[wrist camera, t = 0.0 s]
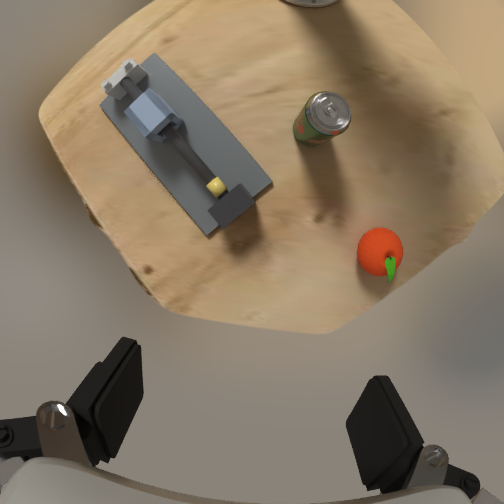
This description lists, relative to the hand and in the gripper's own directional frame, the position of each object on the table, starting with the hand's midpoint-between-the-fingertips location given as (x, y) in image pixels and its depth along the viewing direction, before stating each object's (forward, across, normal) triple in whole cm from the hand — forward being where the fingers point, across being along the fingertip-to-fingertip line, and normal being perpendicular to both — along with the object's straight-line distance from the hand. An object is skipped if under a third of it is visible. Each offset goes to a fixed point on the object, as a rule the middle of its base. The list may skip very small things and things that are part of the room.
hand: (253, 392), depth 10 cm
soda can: (+31, -5, -16) cm, 36 cm away
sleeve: (+30, +16, -14) cm, 37 cm away
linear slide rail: (+31, +14, -12) cm, 36 cm away
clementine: (+32, -18, -1) cm, 36 cm away
